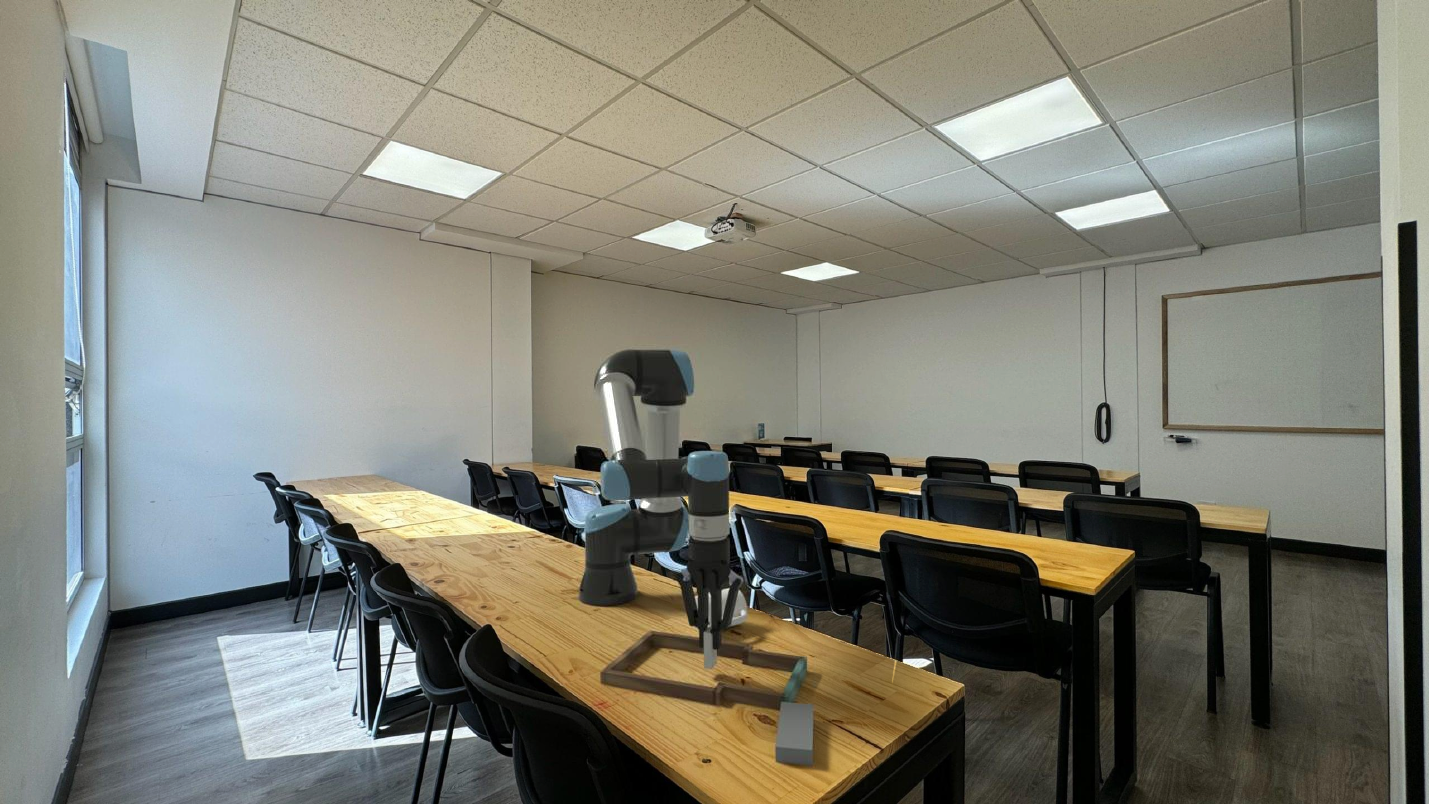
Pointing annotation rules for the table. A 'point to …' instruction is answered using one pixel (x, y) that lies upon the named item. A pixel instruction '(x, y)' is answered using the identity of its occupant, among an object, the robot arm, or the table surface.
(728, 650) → the keyhole corral
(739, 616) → the mug
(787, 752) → the block
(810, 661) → the table surface
